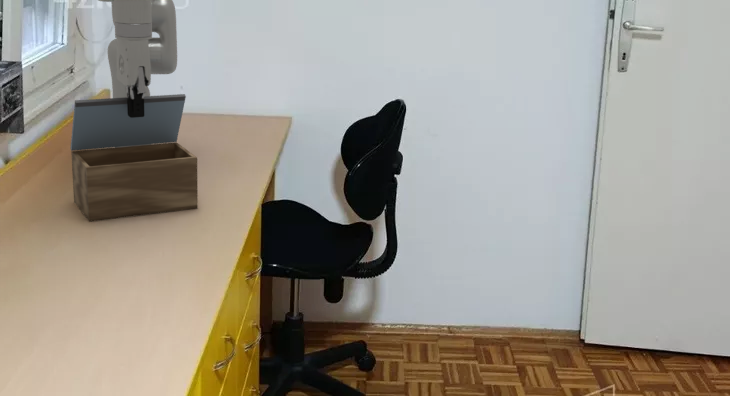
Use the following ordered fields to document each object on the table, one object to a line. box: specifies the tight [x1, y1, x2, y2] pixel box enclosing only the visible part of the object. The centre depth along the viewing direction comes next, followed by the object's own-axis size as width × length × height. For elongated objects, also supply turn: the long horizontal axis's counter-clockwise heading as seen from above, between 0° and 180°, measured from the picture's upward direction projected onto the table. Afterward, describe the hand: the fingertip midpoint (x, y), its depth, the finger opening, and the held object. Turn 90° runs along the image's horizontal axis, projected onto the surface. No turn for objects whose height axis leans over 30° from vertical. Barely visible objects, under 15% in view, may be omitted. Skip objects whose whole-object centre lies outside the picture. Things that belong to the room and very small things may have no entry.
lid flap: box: [70, 93, 187, 152], centre depth 197 cm, size 14×24×1 cm
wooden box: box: [70, 141, 199, 223], centre depth 197 cm, size 14×24×12 cm, turn 120°
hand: (136, 116), depth 191 cm, fingers closed
